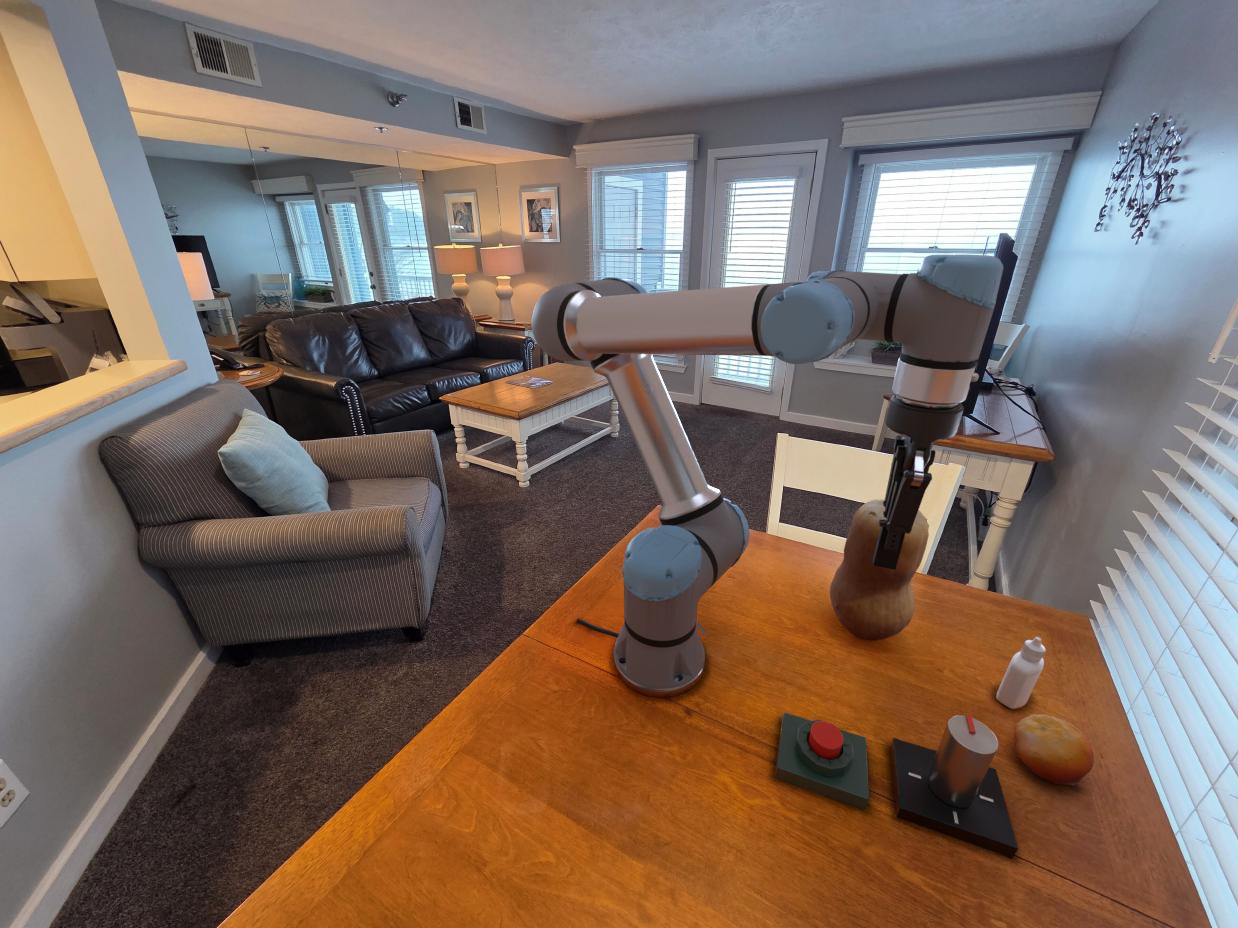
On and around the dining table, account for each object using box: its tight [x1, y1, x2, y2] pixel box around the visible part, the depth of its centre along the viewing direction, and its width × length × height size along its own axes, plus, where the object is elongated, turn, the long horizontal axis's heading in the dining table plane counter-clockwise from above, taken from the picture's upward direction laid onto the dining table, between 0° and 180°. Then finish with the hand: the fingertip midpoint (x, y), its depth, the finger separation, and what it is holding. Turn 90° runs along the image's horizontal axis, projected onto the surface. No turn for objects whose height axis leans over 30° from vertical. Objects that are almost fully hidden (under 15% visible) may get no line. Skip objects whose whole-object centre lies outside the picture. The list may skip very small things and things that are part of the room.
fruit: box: [1013, 713, 1095, 787], centre depth 66 cm, size 8×8×8 cm
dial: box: [927, 714, 999, 808], centre depth 61 cm, size 5×5×10 cm
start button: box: [809, 720, 843, 759], centre depth 66 cm, size 4×4×2 cm
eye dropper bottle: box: [995, 636, 1046, 710], centre depth 75 cm, size 4×6×12 cm
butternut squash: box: [829, 498, 930, 642], centre depth 86 cm, size 14×13×25 cm
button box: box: [774, 711, 870, 811], centre depth 67 cm, size 11×9×4 cm
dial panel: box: [889, 737, 1019, 859], centre depth 63 cm, size 12×10×2 cm
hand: (883, 564), depth 68 cm, fingers closed
